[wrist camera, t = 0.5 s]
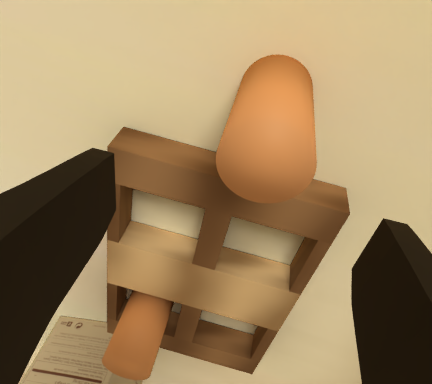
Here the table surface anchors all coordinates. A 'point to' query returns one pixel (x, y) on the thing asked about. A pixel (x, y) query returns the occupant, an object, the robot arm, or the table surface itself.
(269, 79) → the loose pin
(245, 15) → the table surface
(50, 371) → the supplement box
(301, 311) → the table surface
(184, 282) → the wooden grid frame
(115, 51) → the table surface
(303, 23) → the table surface
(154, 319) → the pin
